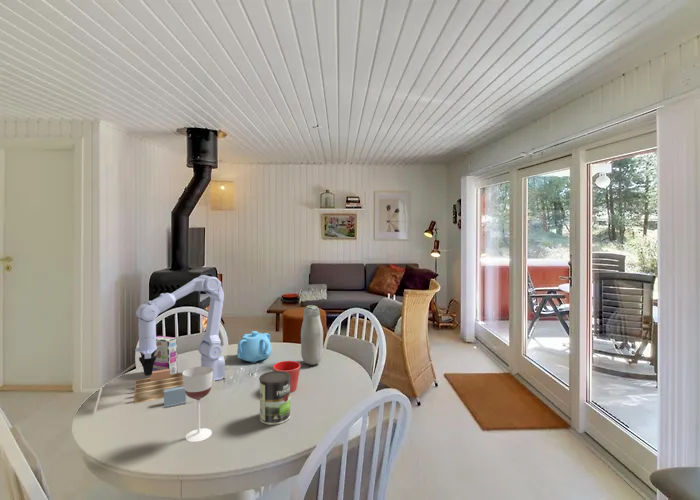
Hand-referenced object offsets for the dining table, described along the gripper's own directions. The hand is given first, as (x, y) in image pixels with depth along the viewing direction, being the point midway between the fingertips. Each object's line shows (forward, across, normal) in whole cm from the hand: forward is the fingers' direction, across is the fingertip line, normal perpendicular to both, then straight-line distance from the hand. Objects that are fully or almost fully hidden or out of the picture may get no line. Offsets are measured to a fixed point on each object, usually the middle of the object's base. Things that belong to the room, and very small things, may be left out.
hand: (148, 371), depth 138 cm
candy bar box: (+10, -21, +6) cm, 24 cm away
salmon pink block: (+9, -6, +4) cm, 12 cm away
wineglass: (+10, +37, +14) cm, 40 cm away
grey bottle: (+10, -3, +68) cm, 69 cm away
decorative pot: (+10, -23, +46) cm, 52 cm away
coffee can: (+10, +37, +38) cm, 54 cm away
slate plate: (+10, +12, +8) cm, 17 cm away
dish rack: (+10, -2, +4) cm, 11 cm away
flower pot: (+10, +18, +48) cm, 53 cm away
